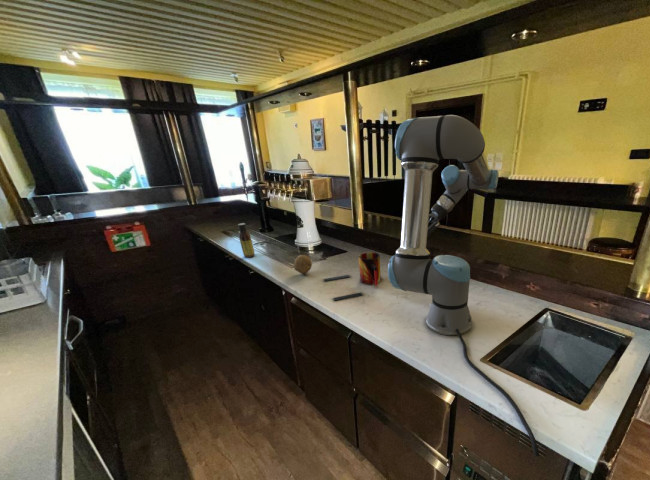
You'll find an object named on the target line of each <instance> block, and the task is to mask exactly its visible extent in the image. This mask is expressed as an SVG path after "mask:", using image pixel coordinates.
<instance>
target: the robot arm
mask: <svg viewBox="0 0 650 480" xmlns="http://www.w3.org/2000/svg"><path fill="white" fill-rule="evenodd" d="M394 149H395V155H396V158H397V159H398V160H399V161H400V165H401V167H402V168H403V170H404V188H403V202H402V216H401V218H402V219H401V233H400V246H399V247H398V248H397V249H396V250H395V254H394V255H392V256H391V257H390V259H389V261H388V265H387V276H388V281H389V283H390V285H391V286H392V287H393V288H394V289H397V290H401V291H402V292H403V291H404V292H412V293H416V294H424V295H430V296H431V303H429V310H428V313H427V314H426V319H425V323H426V327H427V328H428V329H430V330H431V331H432V332H434V333H436V334H438V335H443V336H458V338H459V340H460V342H461V345H462V350H463V351H462V352H463V356H464V358H465V361H466V362H467V364H468V366H470V367H471V369H473V370H474V371H475V372H476V373H477V374H479V375H480V376H481V377H482V378H483V379H485V380H486V382H488V383H489V384H490V385H491V386H493V387H494V388H495V389H496V390H497V391H499V392H500V393H501V394H502V395H503V397H505V398H506V400H507V401H508V402H509V403H510V405H511V406H512V407H513V409H514V410H515V412H516V414H517V415H518V416H517V417H518V418H519V419H520V421H521V423H522V425H523V427H524V429H525V430H526V433H527V434H528V437H529V439H530V442H531V445H532V446H531V447H532V451H533V454H534V456H536V457H540V450H539V447H538V443H537V439H536V437H535V435H534V433H533V431H532V429H531V427H530V426H529V424H528V422H527V420H526V418H525V417H524V415H523V412H522V411H521V409H520V407H519V406H518V405H517V403H516V402H515V400H514V399H513V398H512V397H511V396H510V394H509V393H508V392H507V391H506V390H505V389H504V388H502V387H501V386H500V385H499V384H498V383H496V381H494V380H492V379H491V378H490V377H489V376H488V375H487V374H485V372H484V371H482V370H481V369H480V368H478V367H477V366H476V365H475V364H474V363H473V362H472V361H471V360H470V358H469V355H468V351H467V350H468V348H467V345H466V342H465V340H464V338H463V336H462V335H463V334H466V333H467V332H469V331H470V330H471V328H472V323H473V320H472V316H471V312H470V309H469V303H468V302H469V292H470V281H471V266H470V263H468V261H466V260H465V259H464V258H462V257H459V256H455V255H451V254H439V255H435V256H434V257H433V259H431V252H430V251H429V250H428V249H427V243H428V237H429V236H430V235H431V234H432V233H433V232H434V231H435V230H437V228H439V227H441V223H440V222H441V220H442V221H443V220H445V218H446V217H447V216H448V215H449V213H450V212H451V211H452V210H453V208H454V207H455V206H456V205H457V203H458V202H459V201H460V200H461V199H462V198H463V197H464V196H465V194H467V191H469V190H486V191H488V190H495V189H496V188H497V186H498V182H499V171H498V169H492V168H490V166H489V163H488V159H487V156H486V153H485V149H486V141H485V138H484V134H483V133H482V132H481V130H480V129H479V127H477V126H476V125H475V124H474V123H473V122H471V121H470V120H468V119H466V118H465V117H462V116H459V115H455V114H447V115H437V116H436V115H435V116H421V117H418V116H417V117H414V118H409V119H405V120H404V121H402V122H401V124H399V126H398V128H397V131H396V134H395V139H394ZM440 160H457V161H458V162H460V163H462V165H463V167H464V168H465V169H459V168H458V166H456V165H455V164H449V165H447V166H446V167H444V169H443V170H442V171H441V173H440V174H441V175H440V176H441V181H442V183H443V186H444V188H445V191H444V192H443V193H442V195H441V196H440V197H439V198H438V200H437V201H436V203H434V205H432V207H431V194H432V185H433V173H434V172H435V170H436V169H438V167H439V162H440ZM430 207H431V209H430Z"/></svg>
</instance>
